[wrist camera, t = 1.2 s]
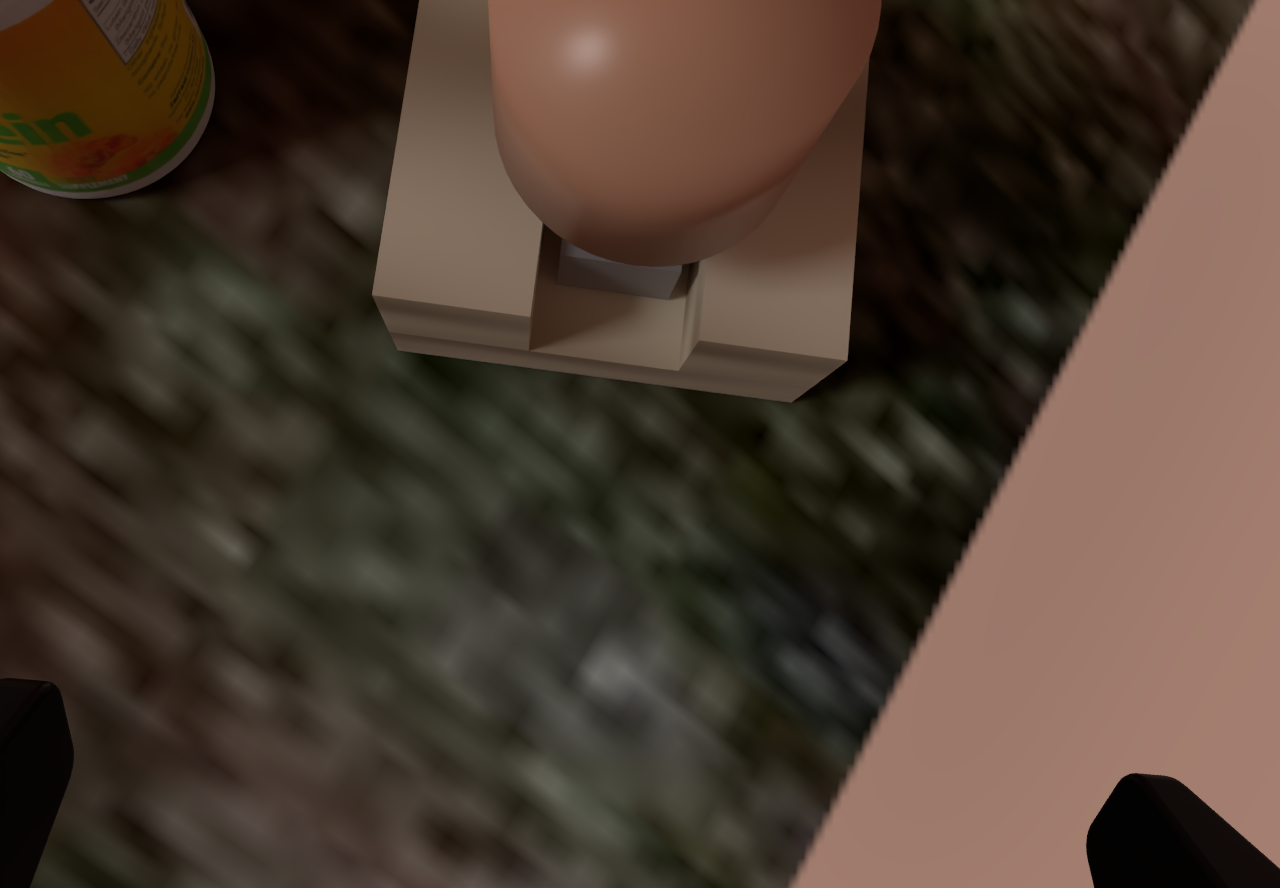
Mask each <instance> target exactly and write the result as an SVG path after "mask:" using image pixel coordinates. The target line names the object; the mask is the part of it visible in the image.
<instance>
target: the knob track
mask: <svg viewBox="0 0 1280 888" xmlns="http://www.w3.org/2000/svg"><path fill="white" fill-rule="evenodd" d="M869 57H870V56H869ZM868 71H869V58H868V60H867V62H866V64H865V66H864V69H863V71H862V73H861V74H860V76H859V77H858V79H857V81H856V82H855V84H854V85H853V87H852V88H851V90H850V91H849V93H848V95H847V96H846V98H845V99H844V101H843V102H842V104H841V105H840V107H839V109H838V110H837V112H836V113H835V115H834V116H833V118H832V119H831V121H830V123H829V124H828V126H827V127H826V129H825V130H824V132H823V133H822V135H821V136H820V138H819V140H818V141H817V143H816V144H815V146H814V147H813V149H812V150H811V152H810V154H809V155H808V157H807V158H806V160H805V161H804V163H803V164H802V166H801V168H800V169H799V171H798V172H797V174H796V175H795V177H794V178H793V180H792V182H791V183H790V185H789V186H788V188H787V189H786V191H785V192H784V194H783V196H782V197H781V199H780V200H779V202H778V203H777V205H776V206H775V208H774V209H773V211H772V212H771V213H770V215H769V216H768V217H767V218H766V219H765V220H764V221H763V223H762V224H761V225H760V226H759V227H758V228H756V229H755V230H754V231H753V232H752V233H751V234H750V235H748V236H747V237H746V238H745V239H743V240H742V241H740V242H739V243H737V244H735V245H734V246H732V247H731V248H729V249H727V250H725V251H723V252H721V253H719V254H716V255H714V256H712V257H709V258H706V259H703V260H700V261H697V262H693V263H688V264H683V265H682V270H681V274H680V276H679V278H678V280H677V282H676V284H675V286H674V288H673V290H672V292H671V294H670V296H669V298H668V300H665V299H658V298H651V297H643V296H636V295H629V294H622V293H615V292H608V291H601V290H594V289H587V288H580V287H573V286H566V285H559V284H557V276H558V268H559V260H560V252H561V244H562V237H560V236H559V235H557V234H556V233H555V232H553V231H552V230H551V229H550V228H549V227H547V226H546V225H545V224H544V223H543V222H542V221H540V220H539V218H538V217H537V216H536V215H535V214H534V213H533V212H532V211H531V210H530V209H529V208H528V206H527V205H526V204H525V202H524V201H523V200H522V198H521V197H520V195H519V194H518V192H517V191H516V190H515V188H514V186H513V184H512V182H511V180H510V178H509V176H508V175H507V173H506V171H505V168H504V165H503V162H502V160H501V157H500V154H499V150H498V146H497V141H496V136H495V129H494V115H493V94H492V73H491V53H490V32H489V11H488V0H419V6H418V12H417V18H416V24H415V31H414V37H413V43H412V49H411V56H410V62H409V68H408V74H407V80H406V87H405V93H404V99H403V105H402V112H401V118H400V124H399V130H398V137H397V143H396V149H395V155H394V162H393V168H392V174H391V180H390V186H389V193H388V199H387V205H386V211H385V218H384V224H383V230H382V236H381V243H380V249H379V255H378V261H377V268H376V274H375V280H374V286H373V292H372V296H373V298H374V300H375V302H376V305H377V307H378V309H379V311H380V313H381V315H382V317H383V320H384V322H385V324H386V326H387V328H388V330H389V333H390V335H391V337H392V339H393V341H394V343H395V345H396V348H397V350H399V351H407V352H414V353H422V354H429V355H437V356H444V357H452V358H460V359H467V360H475V361H482V362H490V363H497V364H505V365H512V366H520V367H527V368H535V369H542V370H550V371H557V372H565V373H572V374H580V375H587V376H595V377H602V378H610V379H617V380H625V381H633V382H640V383H648V384H655V385H663V386H670V387H678V388H685V389H693V390H700V391H708V392H715V393H723V394H730V395H738V396H745V397H753V398H760V399H768V400H775V401H783V402H790V403H792V402H793V401H794V400H796V399H797V398H798V397H800V396H801V395H802V394H804V393H805V392H806V391H808V390H809V389H810V388H812V387H813V386H814V385H816V384H817V383H818V382H820V381H821V380H822V379H824V378H825V377H826V376H828V375H829V374H830V373H832V372H833V371H834V370H836V369H837V368H838V367H840V366H841V365H842V364H844V363H845V362H846V361H847V359H848V346H849V332H850V318H851V304H852V291H853V277H854V263H855V249H856V236H857V222H858V208H859V194H860V181H861V167H862V153H863V139H864V126H865V112H866V98H867V84H868Z"/></svg>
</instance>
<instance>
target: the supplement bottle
mask: <svg viewBox="0 0 1280 888" xmlns="http://www.w3.org/2000/svg"><path fill="white" fill-rule="evenodd" d="M214 97H215V75H214V68H213V63H212V58H211V55H210V52H209V49H208V46H207V43H206V41H205V39H204V36H203V34H202V32H201V30H200V28H199V26H198V24H197V22H196V20H195V18H194V16H193V14H192V12H191V10H190V9H189V7H188V5H187V3H186V1H185V0H0V170H1V171H2V172H3V173H5V174H6V175H8V176H9V177H11V178H13V179H14V180H16V181H18V182H20V183H22V184H24V185H26V186H28V187H31V188H33V189H36V190H38V191H41V192H44V193H48V194H51V195H56V196H61V197H67V198H76V199H96V198H106V197H112V196H117V195H122V194H126V193H129V192H132V191H135V190H138V189H140V188H143V187H145V186H147V185H150V184H151V183H153V182H155V181H157V180H159V179H160V178H162V177H163V176H165V175H166V174H168V173H169V172H171V171H172V170H173V169H174V168H176V167H177V166H178V165H179V164H180V163H181V162H182V161H183V160H184V159H185V158H186V157H187V156H188V155H189V154H190V153H191V151H192V150H193V149H194V147H195V146H196V144H197V143H198V141H199V140H200V138H201V136H202V134H203V132H204V130H205V128H206V126H207V123H208V121H209V118H210V115H211V112H212V108H213V103H214Z"/></svg>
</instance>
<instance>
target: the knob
mask: <svg viewBox="0 0 1280 888" xmlns="http://www.w3.org/2000/svg"><path fill="white" fill-rule="evenodd" d="M488 11H489V32H490V53H491V73H492V94H493V115H494V129H495V136H496V141H497V146H498V150H499V154H500V157H501V160H502V162H503V165H504V168H505V171H506V173H507V175H508V176H509V178H510V180H511V182H512V184H513V186H514V188H515V190H516V191H517V192H518V194H519V195H520V197H521V198H522V200H523V201H524V202H525V204H526V205H527V206H528V208H529V209H530V210H531V211H532V212H533V213H534V214H535V215H536V216H537V217H538V218H539V220H540V221H542V222H543V223H544V224H545V225H546V226H547V227H549V228H550V229H551V230H552V231H553V232H555V233H556V234H557V235H559V236H560V237H562V244H561V252H560V260H559V268H558V276H557V284H559V285H566V286H573V287H580V288H587V289H594V290H601V291H608V292H615V293H622V294H629V295H636V296H643V297H651V298H658V299H665V300H668V298H669V296H670V294H671V292H672V290H673V288H674V286H675V284H676V282H677V280H678V278H679V276H680V274H681V270H682V265H683V264H688V263H693V262H697V261H700V260H703V259H706V258H709V257H712V256H714V255H716V254H719V253H721V252H723V251H725V250H727V249H729V248H731V247H732V246H734V245H735V244H737V243H739V242H740V241H742V240H743V239H745V238H746V237H747V236H748V235H750V234H751V233H752V232H753V231H754V230H755V229H756V228H758V227H759V226H760V225H761V224H762V223H763V221H764V220H765V219H766V218H767V217H768V216H769V215H770V213H771V212H772V211H773V209H774V208H775V206H776V205H777V203H778V202H779V200H780V199H781V197H782V196H783V194H784V192H785V191H786V189H787V188H788V186H789V185H790V183H791V182H792V180H793V178H794V177H795V175H796V174H797V172H798V171H799V169H800V168H801V166H802V164H803V163H804V161H805V160H806V158H807V157H808V155H809V154H810V152H811V150H812V149H813V147H814V146H815V144H816V143H817V141H818V140H819V138H820V136H821V135H822V133H823V132H824V130H825V129H826V127H827V126H828V124H829V123H830V121H831V119H832V118H833V116H834V115H835V113H836V112H837V110H838V109H839V107H840V105H841V104H842V102H843V101H844V99H845V98H846V96H847V95H848V93H849V91H850V90H851V88H852V87H853V85H854V84H855V82H856V81H857V79H858V77H859V76H860V74H861V73H862V71H863V69H864V66H865V64H866V62H867V60H868V58H869V56H870V53H871V51H872V48H873V45H874V41H875V38H876V34H877V31H878V26H879V19H880V12H881V0H488Z"/></svg>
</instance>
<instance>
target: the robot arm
mask: <svg viewBox="0 0 1280 888" xmlns="http://www.w3.org/2000/svg"><path fill="white" fill-rule="evenodd" d="M73 762H74V749H73V743H72V739H71V734H70V730H69V725H68V721H67V717H66V712H65V708H64V703H63V699H62V695H61V692H60V690H59V688H58V687H57V686H56V685H55V684H54V683H51V682H48V681H39V680H27V679H15V678H4V679H0V888H30V886H31V883H32V881H33V878H34V875H35V872H36V870H37V867H38V864H39V862H40V859H41V856H42V854H43V851H44V848H45V845H46V843H47V840H48V837H49V835H50V832H51V829H52V826H53V824H54V821H55V818H56V816H57V813H58V810H59V807H60V805H61V802H62V799H63V797H64V794H65V791H66V789H67V786H68V783H69V780H70V777H71V773H72V769H73ZM1086 849H1087V858H1088V863H1089V867H1090V871H1091V876H1092V880H1093V884H1094V888H1280V868H1278V867H1277V866H1276V865H1275V864H1274V863H1273V862H1272V861H1270V860H1269V859H1268V858H1267V857H1266V856H1265V855H1264V854H1263V853H1261V852H1260V851H1259V850H1258V849H1257V848H1256V847H1254V846H1253V845H1252V844H1251V843H1250V842H1249V841H1247V840H1246V839H1245V838H1244V837H1243V836H1242V835H1241V834H1240V833H1239V832H1237V831H1236V830H1235V829H1234V828H1233V827H1232V826H1231V825H1230V824H1228V823H1227V822H1226V821H1225V820H1224V819H1223V818H1222V817H1220V816H1219V815H1218V814H1217V813H1216V812H1215V811H1214V810H1212V809H1211V808H1210V807H1209V806H1208V805H1207V804H1206V803H1204V802H1203V801H1202V800H1201V799H1200V798H1199V797H1198V796H1197V795H1195V794H1194V793H1193V792H1192V791H1191V790H1190V789H1189V788H1187V787H1186V786H1185V785H1184V784H1182V783H1181V782H1180V781H1178V780H1176V779H1174V778H1171V777H1168V776H1161V775H1148V774H1138V773H1134V774H1129V775H1127V776H1125V777H1123V778H1122V779H1121V780H1120V781H1119V782H1118V784H1117V785H1116V787H1115V788H1114V790H1113V792H1112V793H1111V795H1110V796H1109V798H1108V799H1107V801H1106V802H1105V804H1104V805H1103V807H1102V808H1101V810H1100V812H1099V813H1098V815H1097V816H1096V818H1095V819H1094V821H1093V823H1092V824H1091V826H1090V828H1089V831H1088V835H1087V843H1086Z"/></svg>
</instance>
